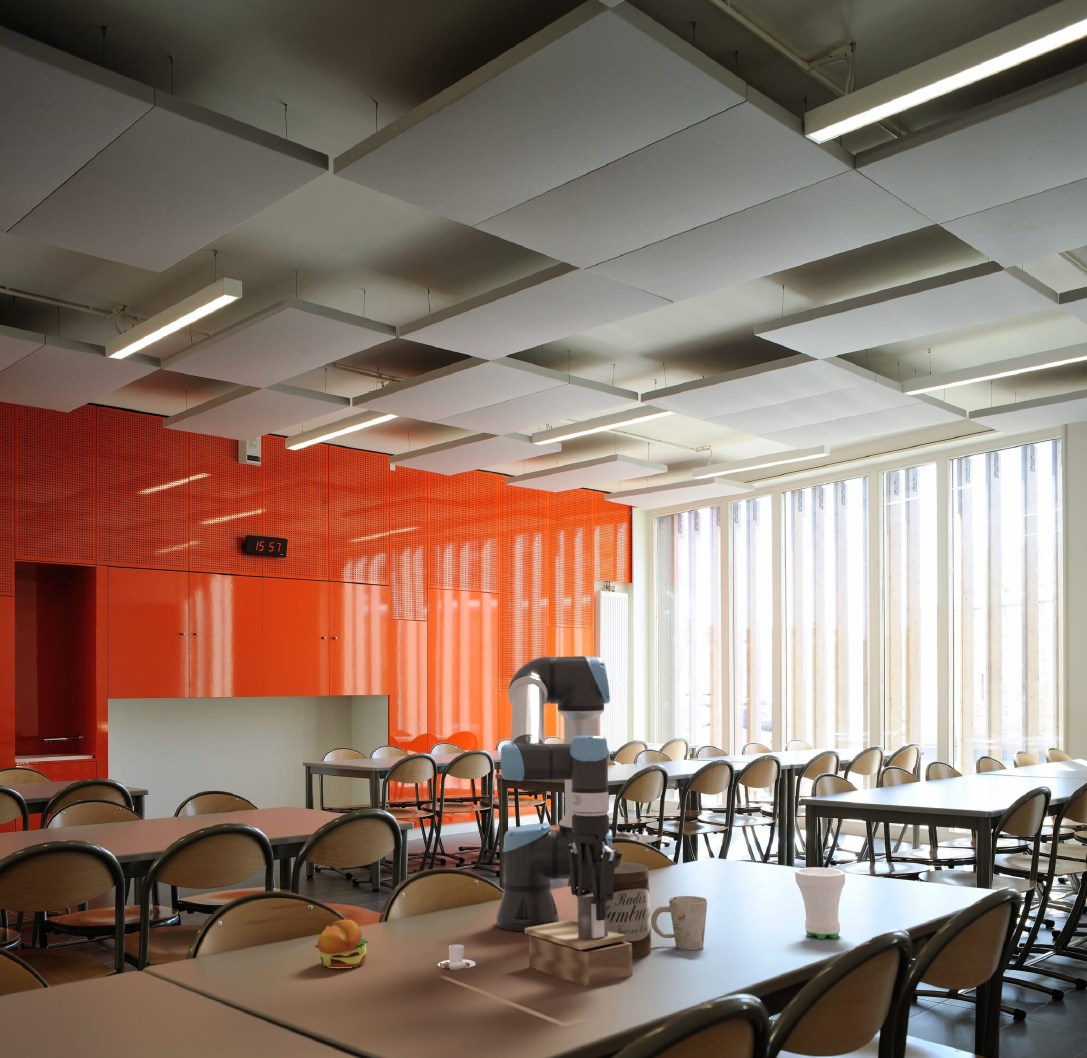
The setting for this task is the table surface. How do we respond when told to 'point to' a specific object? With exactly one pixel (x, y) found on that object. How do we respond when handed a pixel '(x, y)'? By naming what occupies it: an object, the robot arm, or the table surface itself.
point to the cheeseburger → (342, 945)
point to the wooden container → (630, 905)
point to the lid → (576, 929)
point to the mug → (684, 921)
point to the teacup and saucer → (457, 958)
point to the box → (581, 961)
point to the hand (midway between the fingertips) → (592, 935)
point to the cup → (821, 899)
